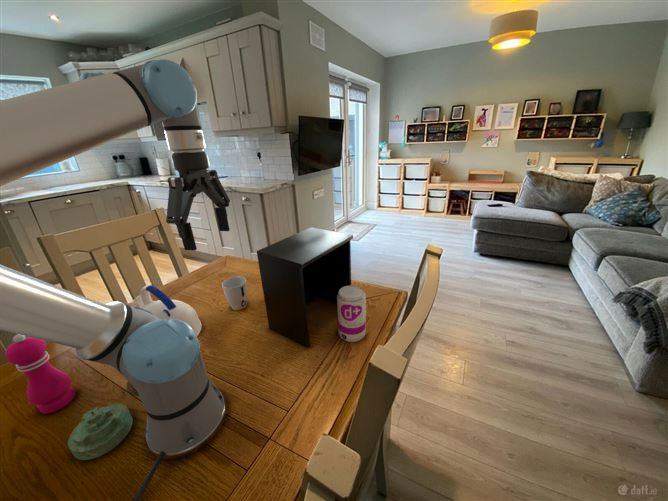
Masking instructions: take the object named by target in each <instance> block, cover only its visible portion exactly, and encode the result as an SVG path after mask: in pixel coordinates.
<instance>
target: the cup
mask: <svg viewBox="0 0 668 501" xmlns="http://www.w3.org/2000/svg"><path fill="white" fill-rule="evenodd" d="M221 287H222V290H223V294H224V296H225V298H226V300H227V303H228V304H229V306H230V308H231V309H232V310H234V311H240V310H243V309H244V308H246V306H247V304H248V284H247V279H246V277H244V276H233V277H228V278H227V279H225V280H224V281H222V283H221Z"/></svg>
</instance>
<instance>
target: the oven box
mask: <svg viewBox="0 0 668 501" xmlns="http://www.w3.org/2000/svg"><path fill="white" fill-rule="evenodd" d="M353 239H354V235H353V234H348V233H343V232H338V231H333V230H328V229H321V228H316V227H312V226H311V227H308V228H306V229H304V230H302V231H299V232H296V233H295V234H292V235H290V236H288V237H286V238H283V239H281V240H278V241H277V242H274V243H271V244H270V245H269V244H268V245H267V246H265V247H263V248H260V249H258V250H256V256H257V263H258V269H259V274H260V281H261V286H262V293H263V299H264V305H265V312H266V317H267V323H268V329H269V330H271V331H272V332H275V333H276V334H278V335H280V336H282V337H285V339H288V340H290V341H293V342H294V343H296V344H298V345H300V346H302V347H304V348H306V349H309V348H310V346H311V344H310V334H309V324H308V323H309V322H308V312H307V304H308V303H310V302H311V301H312V300H314V299H315V298H316V297H318V298H321V299H323V300H325V301H329V302H331V303H334V304H337V294H338V293H339V290H340V289H341V288H342V287H344V286H349V285H352V259H351V258H352V254H351V253H352V252H351V251H352V250H351V248H352V247H351V240H353Z"/></svg>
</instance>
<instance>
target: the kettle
mask: <svg viewBox="0 0 668 501" xmlns="http://www.w3.org/2000/svg"><path fill="white" fill-rule="evenodd" d="M151 295H153V296H154V297H156V298H157V299H158V300H153V298H152V297H151ZM133 301H134V302H135V303H136V304H137V306H138V308H143V309H145V310H148V311H149V312H151V313H152V314H153V315H154V316H156V317H157V318H159V319H161V320H163V319H166V320H167V321H169V320H171V319H177V320H181V321H184V322H186V323H187V324H189V325H190V326H191V327H192V329H193V331H194V333H195V334H196V337H197V338H198V336H199V335H200V332H201V330H202V327H203V326H202V325H203V324H202V323H201V320H200V318H199V316H198V312H197V311H196V310H195V309H194V308H193V307H192V306H191V305H190V304H188V303H186V302H184V301H182V300H178V299H173V298H170V297H169V296H168V295H167V294H166V293H165V292H164V291H162V290H161V289H160V288H158V287H156V286H154V285H153V284H146V285H143V287H142V288H141V289H140V294H139V295H137V296H136V297H135V298H134V300H133Z"/></svg>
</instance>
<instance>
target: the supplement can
mask: <svg viewBox="0 0 668 501" xmlns="http://www.w3.org/2000/svg"><path fill="white" fill-rule="evenodd" d="M336 304H337V306H336V307H337V326H338V327H337V328H338V329H337V330H338V335H339V337H340V338H341V339H342V340H344V341H346V342H348V343H349V342H350V343H357V342H359V341H360V340H362V339H363V338H365V335H367V334H366V333H367V332H366V330H367V326H366V325H367V322H366V321H367V320H366V319H367V296H366V293H365V291H364V289H363V288H362V287H360V286H359V285H352V284H351V285H349V286H344V287H342V288H341V289H340V290H339V293H338V294H337V303H336Z"/></svg>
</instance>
